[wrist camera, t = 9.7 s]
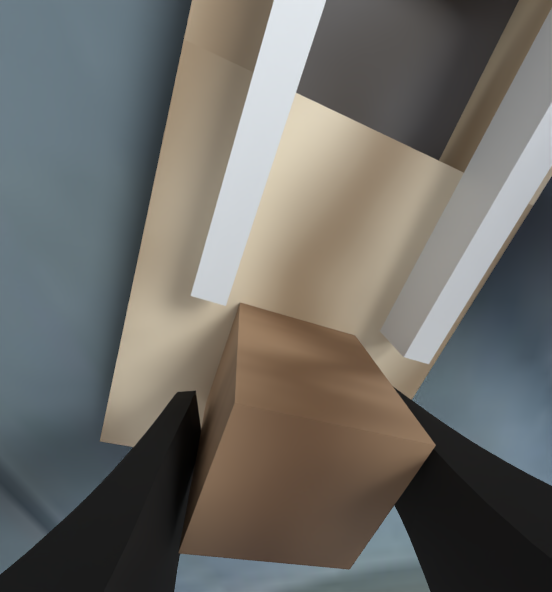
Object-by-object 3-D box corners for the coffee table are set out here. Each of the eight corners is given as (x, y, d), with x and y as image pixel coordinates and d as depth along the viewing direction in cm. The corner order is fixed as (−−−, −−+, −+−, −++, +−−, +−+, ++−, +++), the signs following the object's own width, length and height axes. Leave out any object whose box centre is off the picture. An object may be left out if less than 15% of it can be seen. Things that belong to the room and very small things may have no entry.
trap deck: (627, -42, 9) (723, -100, 7) (345, 450, 16) (358, 484, 14) (283, -316, 7) (298, -509, 5) (119, 406, 13) (99, 441, 12)
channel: (644, -94, 7) (763, -177, 6) (401, 337, 11) (428, 364, 10) (373, -329, 6) (429, -551, 4) (200, 276, 10) (190, 295, 8)
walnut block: (355, 335, 11) (436, 445, 6) (310, 425, 12) (349, 569, 8) (240, 302, 10) (234, 402, 5) (205, 403, 11) (178, 553, 7)
